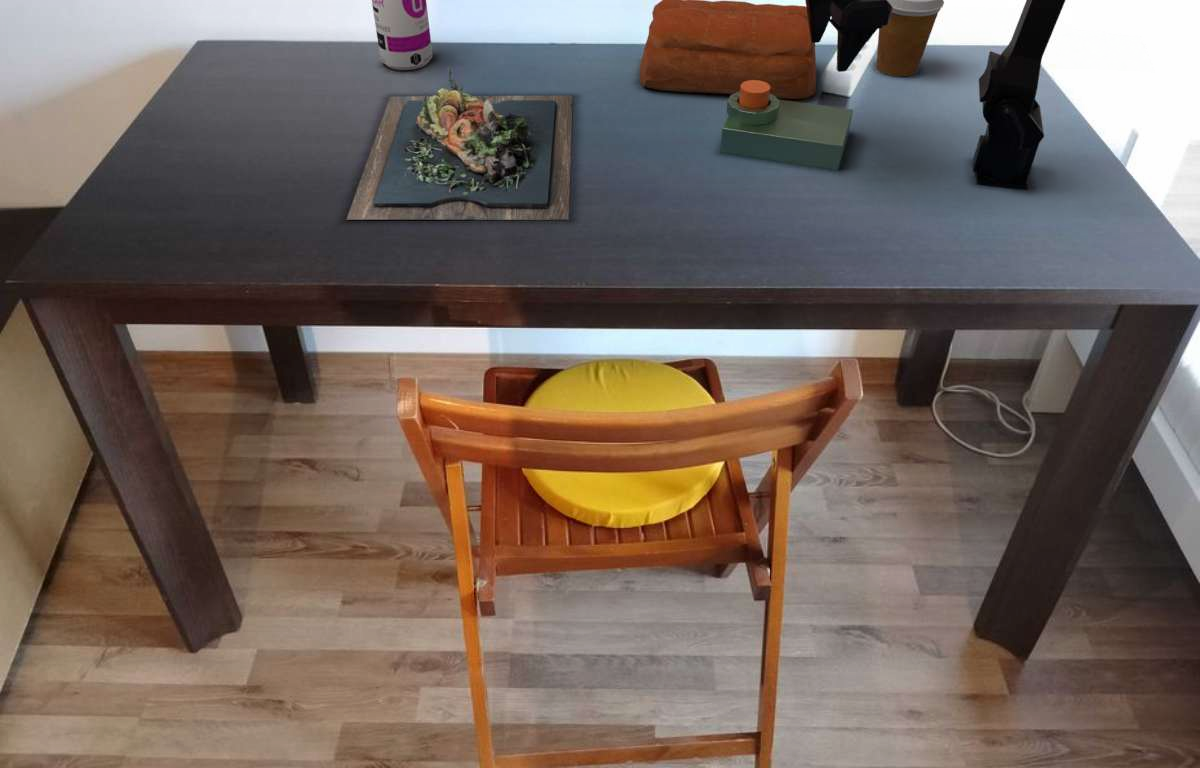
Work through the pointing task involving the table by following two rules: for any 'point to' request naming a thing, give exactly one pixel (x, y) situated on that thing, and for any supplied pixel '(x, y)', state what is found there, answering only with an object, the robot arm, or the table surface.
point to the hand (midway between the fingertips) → (828, 56)
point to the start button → (754, 94)
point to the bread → (729, 48)
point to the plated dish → (469, 159)
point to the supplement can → (403, 33)
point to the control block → (787, 132)
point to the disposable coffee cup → (906, 36)
